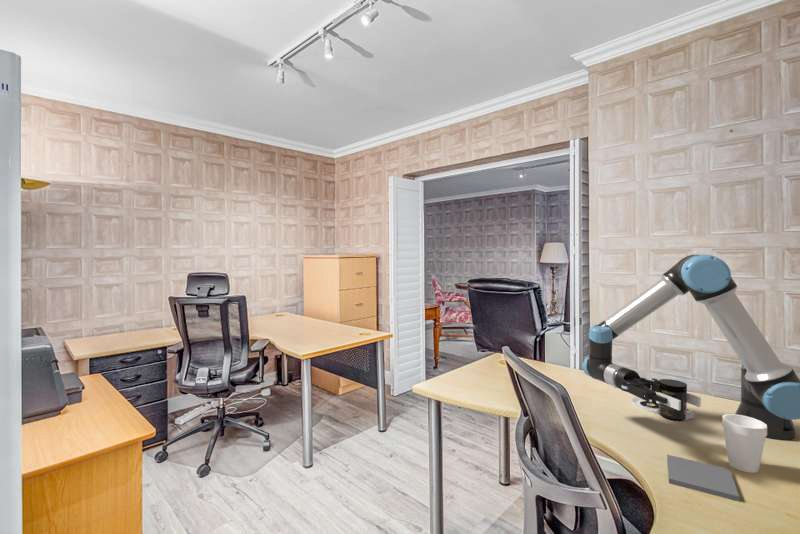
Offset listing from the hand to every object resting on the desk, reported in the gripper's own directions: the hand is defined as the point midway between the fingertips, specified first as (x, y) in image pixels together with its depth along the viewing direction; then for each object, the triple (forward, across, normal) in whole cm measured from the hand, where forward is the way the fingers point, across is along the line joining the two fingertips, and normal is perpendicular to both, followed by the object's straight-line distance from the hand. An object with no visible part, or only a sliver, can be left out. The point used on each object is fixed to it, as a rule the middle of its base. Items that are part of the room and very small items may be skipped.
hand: (689, 403), depth 107 cm
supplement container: (-5, 0, -6) cm, 8 cm away
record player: (-32, -27, -19) cm, 46 cm away
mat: (+5, +3, -18) cm, 19 cm away
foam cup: (+5, -14, -18) cm, 23 cm away
